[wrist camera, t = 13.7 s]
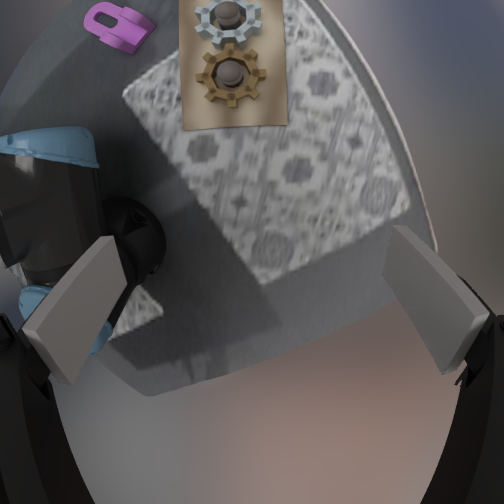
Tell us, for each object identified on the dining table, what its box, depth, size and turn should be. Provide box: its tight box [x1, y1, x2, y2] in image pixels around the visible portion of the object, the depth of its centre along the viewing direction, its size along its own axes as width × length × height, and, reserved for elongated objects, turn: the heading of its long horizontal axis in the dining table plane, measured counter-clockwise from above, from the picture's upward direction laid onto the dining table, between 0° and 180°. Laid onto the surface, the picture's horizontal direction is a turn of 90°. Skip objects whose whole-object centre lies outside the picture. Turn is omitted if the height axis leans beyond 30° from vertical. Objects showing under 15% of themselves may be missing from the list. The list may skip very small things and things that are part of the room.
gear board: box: [179, 0, 288, 131], centre depth 26 cm, size 14×22×9 cm, turn 2°
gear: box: [194, 0, 262, 51], centre depth 25 cm, size 8×8×4 cm
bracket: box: [84, 2, 156, 55], centre depth 23 cm, size 13×6×7 cm, turn 50°
